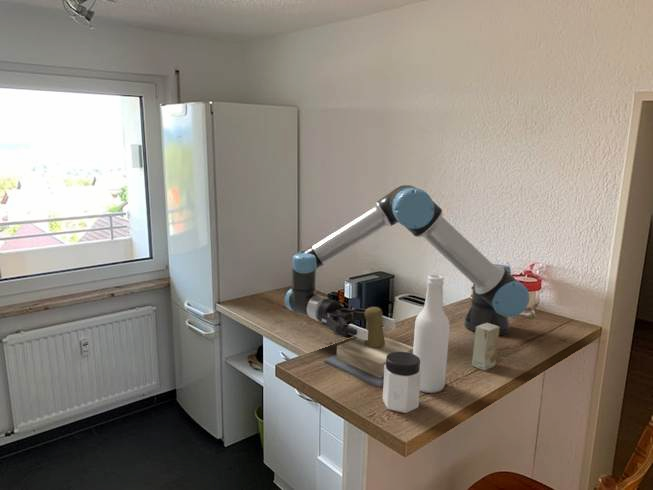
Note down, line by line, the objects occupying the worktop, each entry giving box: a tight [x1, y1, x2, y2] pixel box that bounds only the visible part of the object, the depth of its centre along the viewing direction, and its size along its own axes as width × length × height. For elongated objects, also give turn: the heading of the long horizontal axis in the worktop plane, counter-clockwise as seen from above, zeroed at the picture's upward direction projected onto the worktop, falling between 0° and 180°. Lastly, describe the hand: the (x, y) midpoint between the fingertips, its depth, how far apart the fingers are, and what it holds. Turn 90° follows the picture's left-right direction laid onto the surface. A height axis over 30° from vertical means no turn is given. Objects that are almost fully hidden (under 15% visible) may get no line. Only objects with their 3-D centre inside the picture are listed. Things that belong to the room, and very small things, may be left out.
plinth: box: [323, 336, 413, 387], centre depth 144 cm, size 22×20×5 cm
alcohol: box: [412, 274, 451, 394], centre depth 128 cm, size 9×9×30 cm
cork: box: [364, 306, 385, 348], centre depth 144 cm, size 6×6×11 cm
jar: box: [382, 352, 421, 414], centre depth 120 cm, size 9×8×12 cm
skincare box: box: [471, 323, 500, 371], centre depth 143 cm, size 6×4×12 cm
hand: (381, 329), depth 137 cm, fingers open, 11 cm apart
